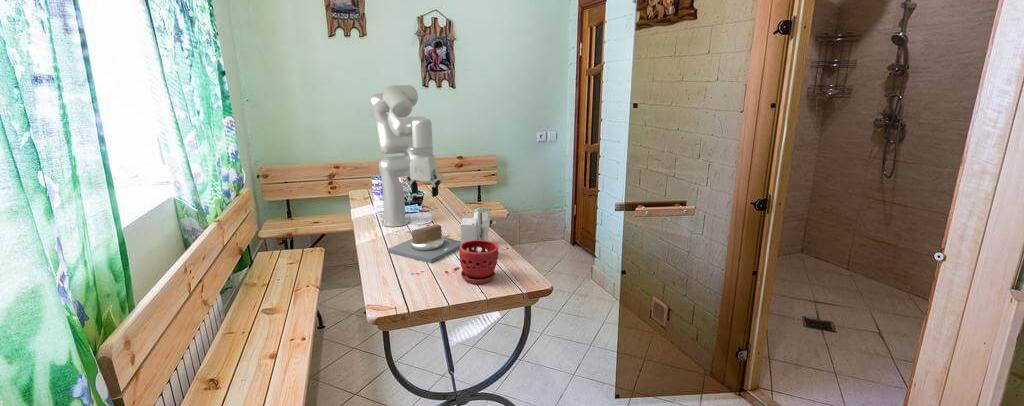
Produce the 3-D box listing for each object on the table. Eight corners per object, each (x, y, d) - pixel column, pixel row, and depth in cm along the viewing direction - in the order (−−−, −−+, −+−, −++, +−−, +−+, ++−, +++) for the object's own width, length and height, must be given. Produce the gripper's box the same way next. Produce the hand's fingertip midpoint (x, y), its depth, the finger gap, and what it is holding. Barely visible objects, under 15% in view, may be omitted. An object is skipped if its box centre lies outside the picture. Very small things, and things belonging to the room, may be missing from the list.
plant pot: (467, 289, 153) (466, 254, 150) (455, 274, 165) (454, 242, 162) (504, 282, 158) (504, 249, 155) (490, 268, 170) (489, 237, 167)
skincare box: (463, 253, 184) (462, 217, 180) (478, 253, 184) (477, 217, 180) (460, 261, 176) (459, 223, 172) (476, 261, 176) (476, 224, 172)
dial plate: (387, 252, 185) (387, 248, 185) (424, 236, 204) (424, 233, 203) (431, 263, 175) (431, 259, 174) (466, 245, 193) (466, 241, 192)
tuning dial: (423, 253, 180) (422, 235, 178) (404, 244, 189) (403, 228, 187) (459, 242, 192) (458, 225, 190) (440, 234, 201) (439, 219, 199)
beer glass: (487, 248, 190) (487, 212, 186) (471, 247, 191) (470, 211, 187) (491, 242, 196) (491, 208, 192) (475, 241, 198) (475, 207, 194)
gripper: (398, 151, 180) (401, 194, 185) (436, 154, 173) (437, 199, 177) (410, 148, 187) (412, 190, 191) (447, 151, 179) (448, 195, 184)
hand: (424, 194), depth 184 cm, fingers open, 9 cm apart
